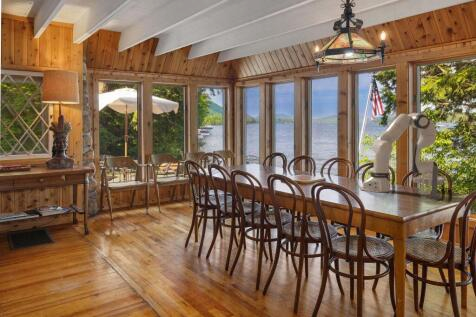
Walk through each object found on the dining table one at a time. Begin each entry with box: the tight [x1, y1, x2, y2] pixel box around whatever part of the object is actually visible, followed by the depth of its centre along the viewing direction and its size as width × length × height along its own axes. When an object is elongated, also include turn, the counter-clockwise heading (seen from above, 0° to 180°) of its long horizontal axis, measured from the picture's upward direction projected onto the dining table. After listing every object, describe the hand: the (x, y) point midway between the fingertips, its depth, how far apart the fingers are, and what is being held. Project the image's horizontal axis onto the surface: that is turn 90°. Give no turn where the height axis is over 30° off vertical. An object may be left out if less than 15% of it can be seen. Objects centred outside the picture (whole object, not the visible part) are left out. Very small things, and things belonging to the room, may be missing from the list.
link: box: [420, 173, 432, 196], centre depth 274 cm, size 6×5×14 cm
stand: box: [426, 166, 443, 200], centre depth 264 cm, size 9×11×22 cm
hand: (427, 182), depth 279 cm, fingers open, 8 cm apart
